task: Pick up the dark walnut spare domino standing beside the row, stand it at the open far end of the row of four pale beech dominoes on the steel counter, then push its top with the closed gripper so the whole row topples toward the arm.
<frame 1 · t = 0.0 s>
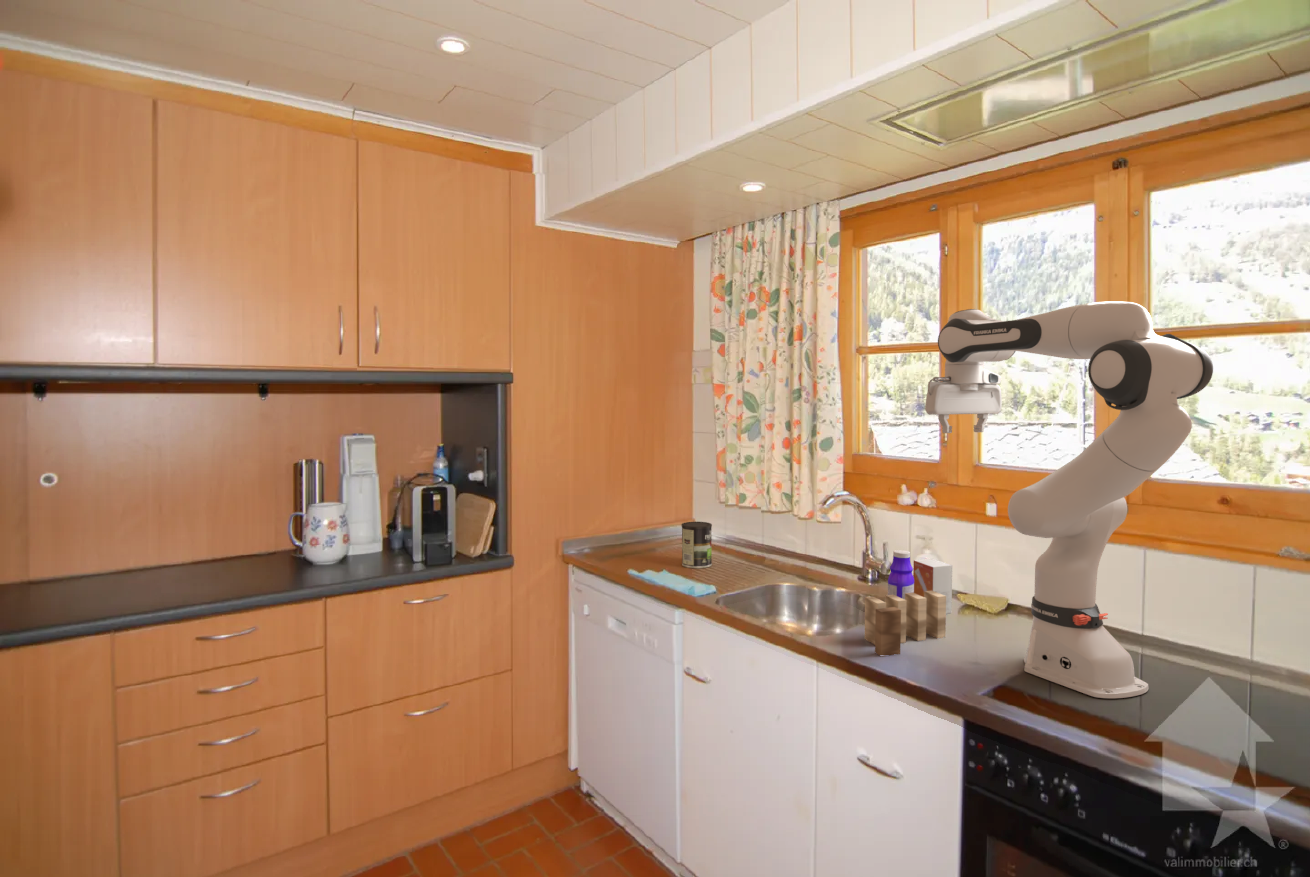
hand: (962, 432, 172), 48 cm above the counter, tool pointing down, fingers open, 8 cm apart
domino a: (934, 634, 166), on the counter
domino b: (914, 637, 165), on the counter
small box: (931, 611, 185), on the counter
coffee can: (696, 565, 237), on the counter
domino c: (895, 639, 163), on the counter
bottle: (900, 618, 179), on the counter
domino d: (874, 642, 162), on the counter
spare domino: (887, 653, 155), on the counter
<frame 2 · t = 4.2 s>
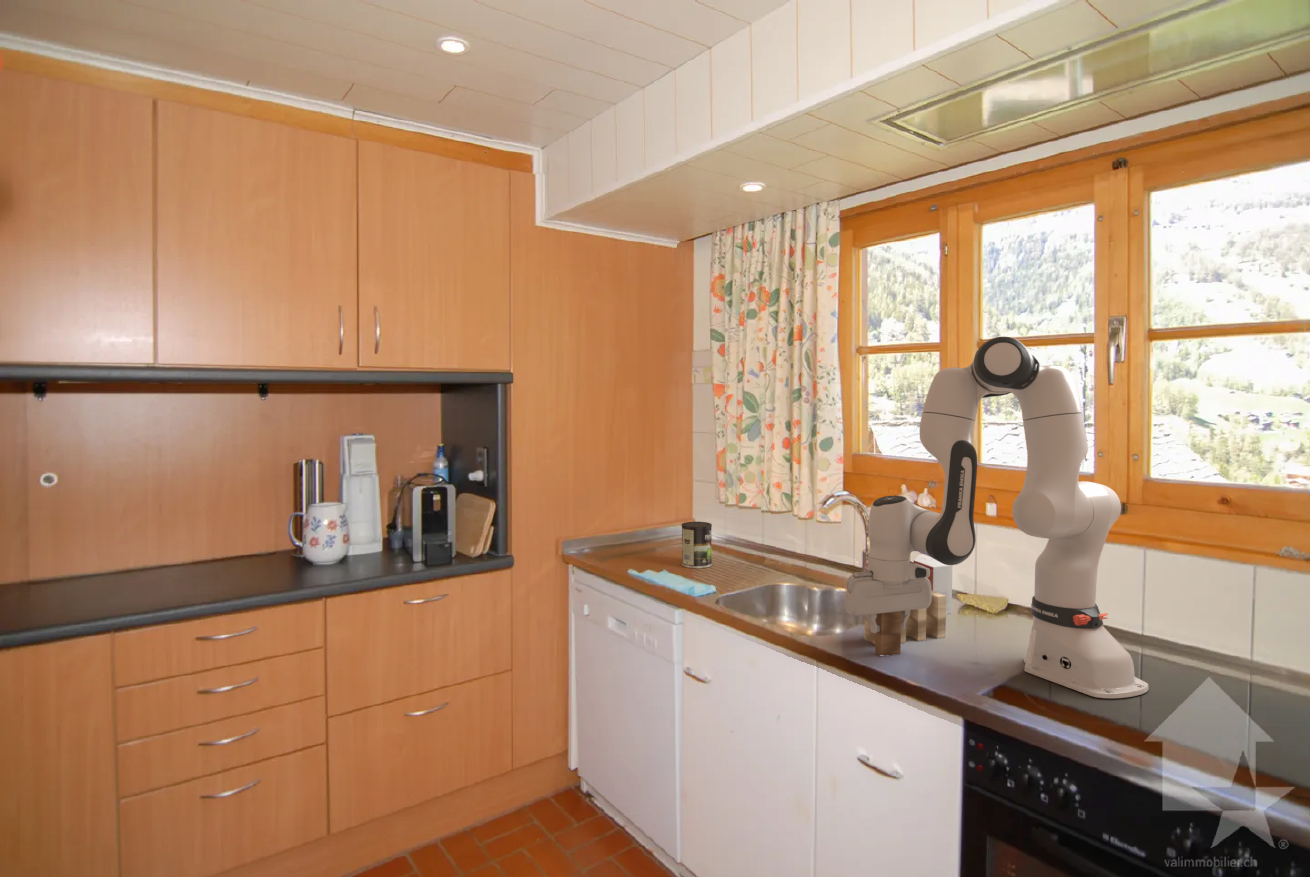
hand: (887, 630, 154), 5 cm above the counter, tool pointing down, fingers closed on spare domino, 5 cm apart
spare domino: (887, 653, 155), on the counter, touching gripper
everything else where it was.
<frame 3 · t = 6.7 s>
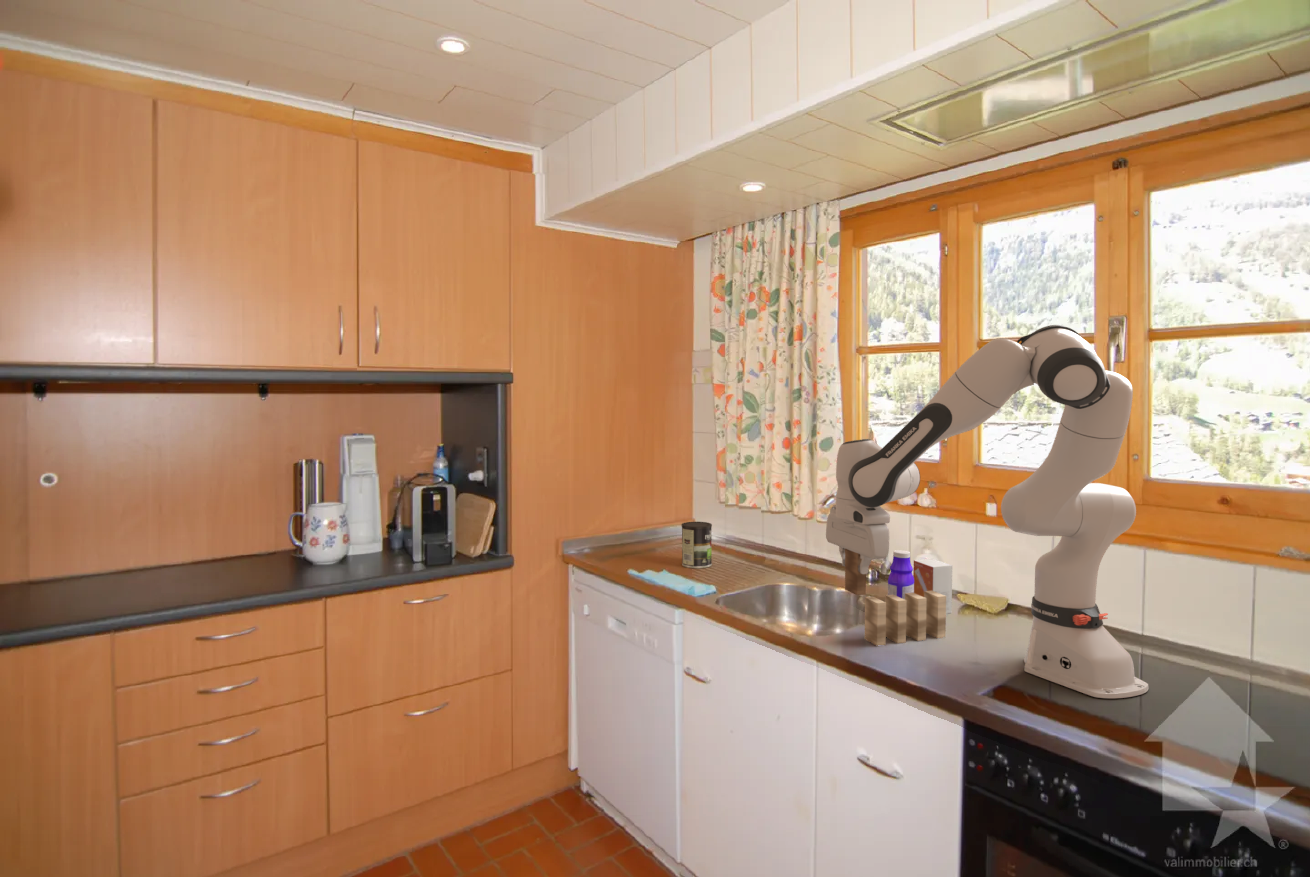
hand: (854, 569, 159), 18 cm above the counter, tool pointing down, fingers closed on spare domino, 5 cm apart
spare domino: (855, 591, 159), point 12 cm above the counter, touching gripper
everything else where it was.
when the fingers open (6 cm above the counter, at t = 9.1 s): spare domino stays where it is, on the counter.
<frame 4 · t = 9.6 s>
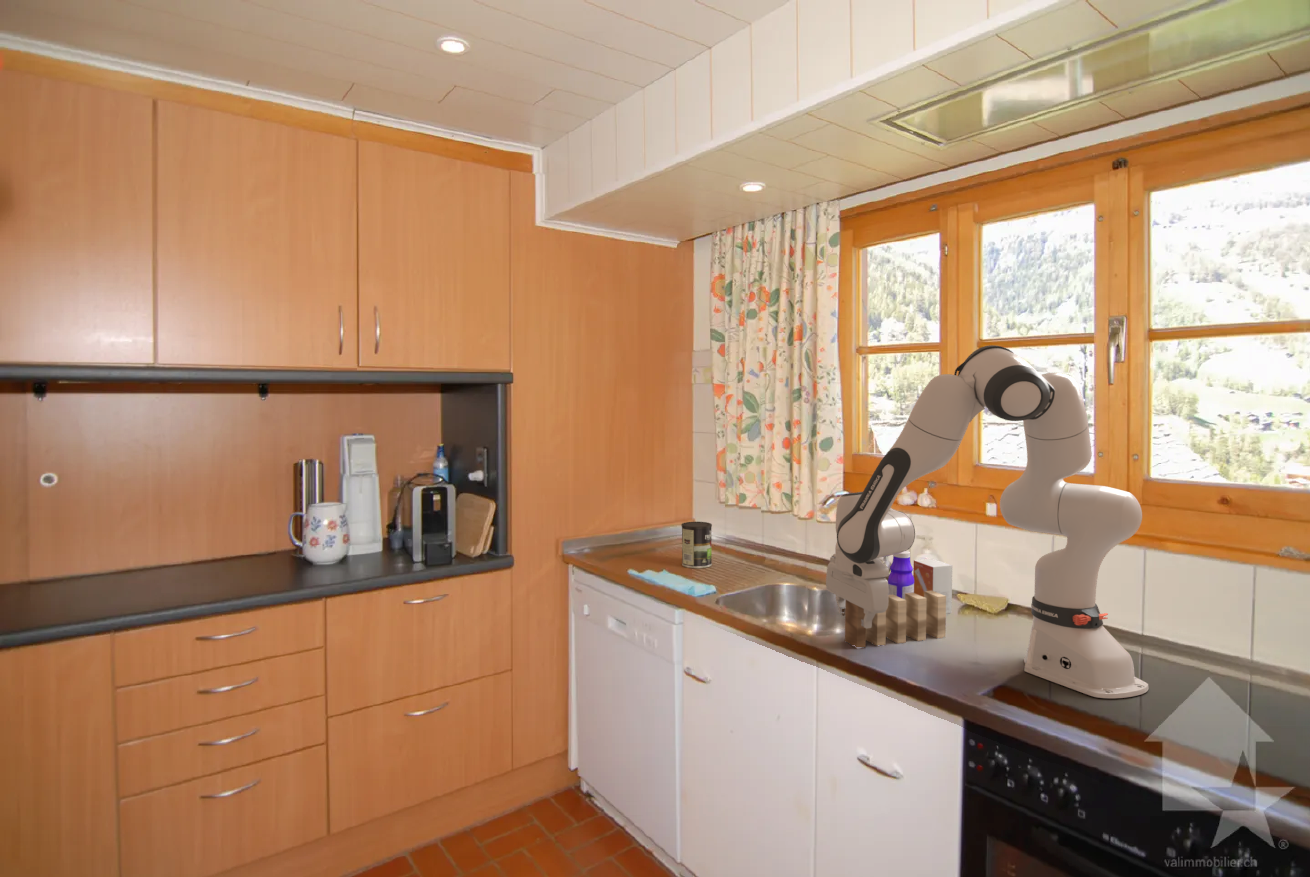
hand: (854, 620, 160), 6 cm above the counter, tool pointing down, fingers open, 8 cm apart
spare domino: (855, 644, 160), on the counter
everything else where it was.
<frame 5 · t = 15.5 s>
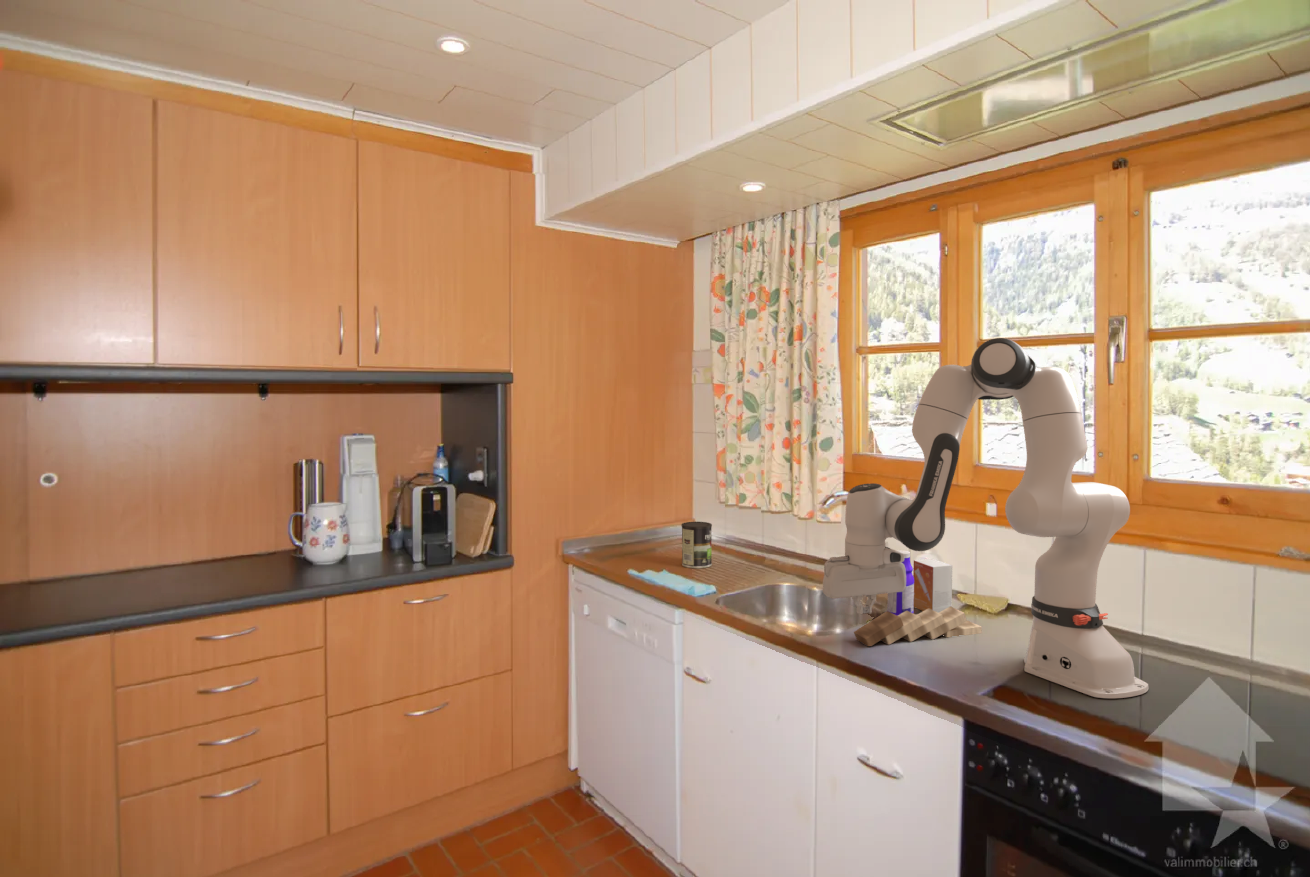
hand: (864, 613, 160), 7 cm above the counter, tool pointing down, fingers closed
domino a: (939, 632, 167), on the counter, tilted 90°
domino b: (924, 631, 165), point 1 cm above the counter, tilted 68°, touching domino c
domino c: (902, 634, 164), point 1 cm above the counter, tilted 68°, touching domino b, domino d
domino d: (880, 637, 162), point 1 cm above the counter, tilted 68°, touching domino c, spare domino
spare domino: (861, 639, 161), point 1 cm above the counter, tilted 65°, touching domino d
everything else where it was.
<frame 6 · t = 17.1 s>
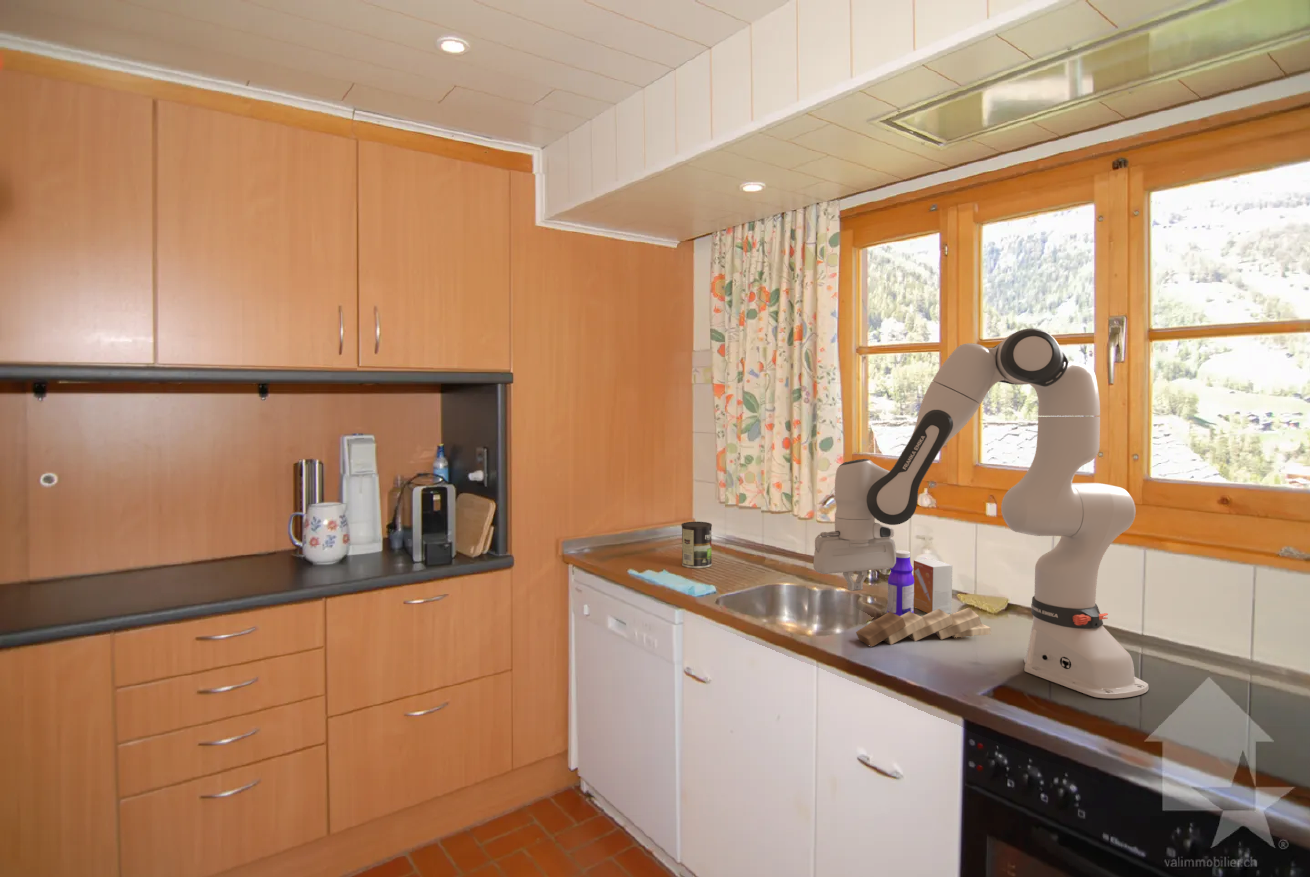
hand: (855, 590, 159), 13 cm above the counter, tool pointing down, fingers closed
domino a: (947, 632, 166), on the counter, tilted 90°
domino b: (935, 630, 165), point 1 cm above the counter, tilted 69°
domino c: (908, 633, 164), point 1 cm above the counter, tilted 68°
domino d: (883, 637, 162), point 1 cm above the counter, tilted 70°, touching spare domino
everything else where it was.
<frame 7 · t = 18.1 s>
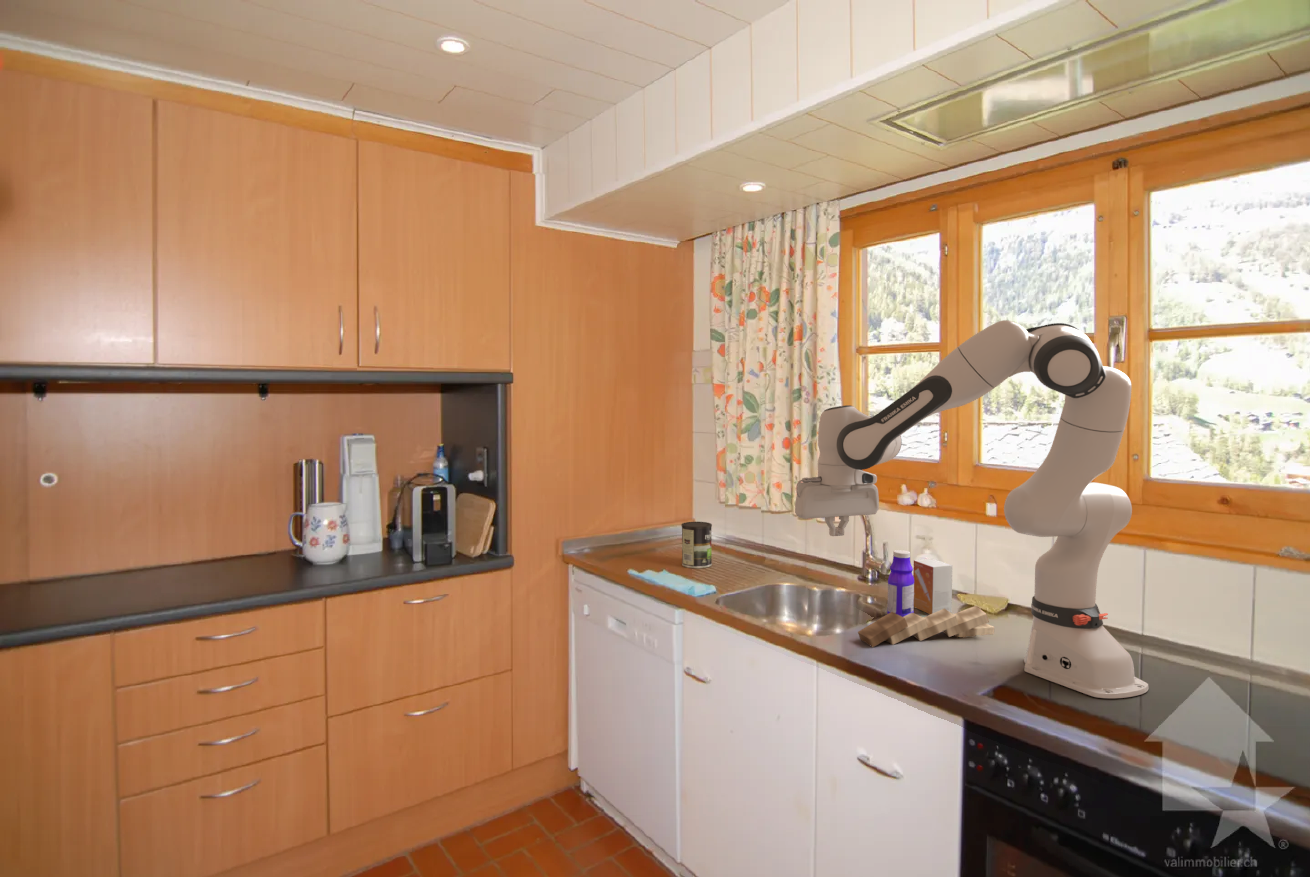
hand: (836, 535, 161), 25 cm above the counter, tool pointing down, fingers closed
domino a: (951, 632, 167), point 1 cm above the counter, tilted 90°, touching domino b
domino b: (943, 628, 165), point 2 cm above the counter, tilted 70°, touching domino a, domino c
domino c: (913, 632, 164), point 1 cm above the counter, tilted 69°, touching domino b
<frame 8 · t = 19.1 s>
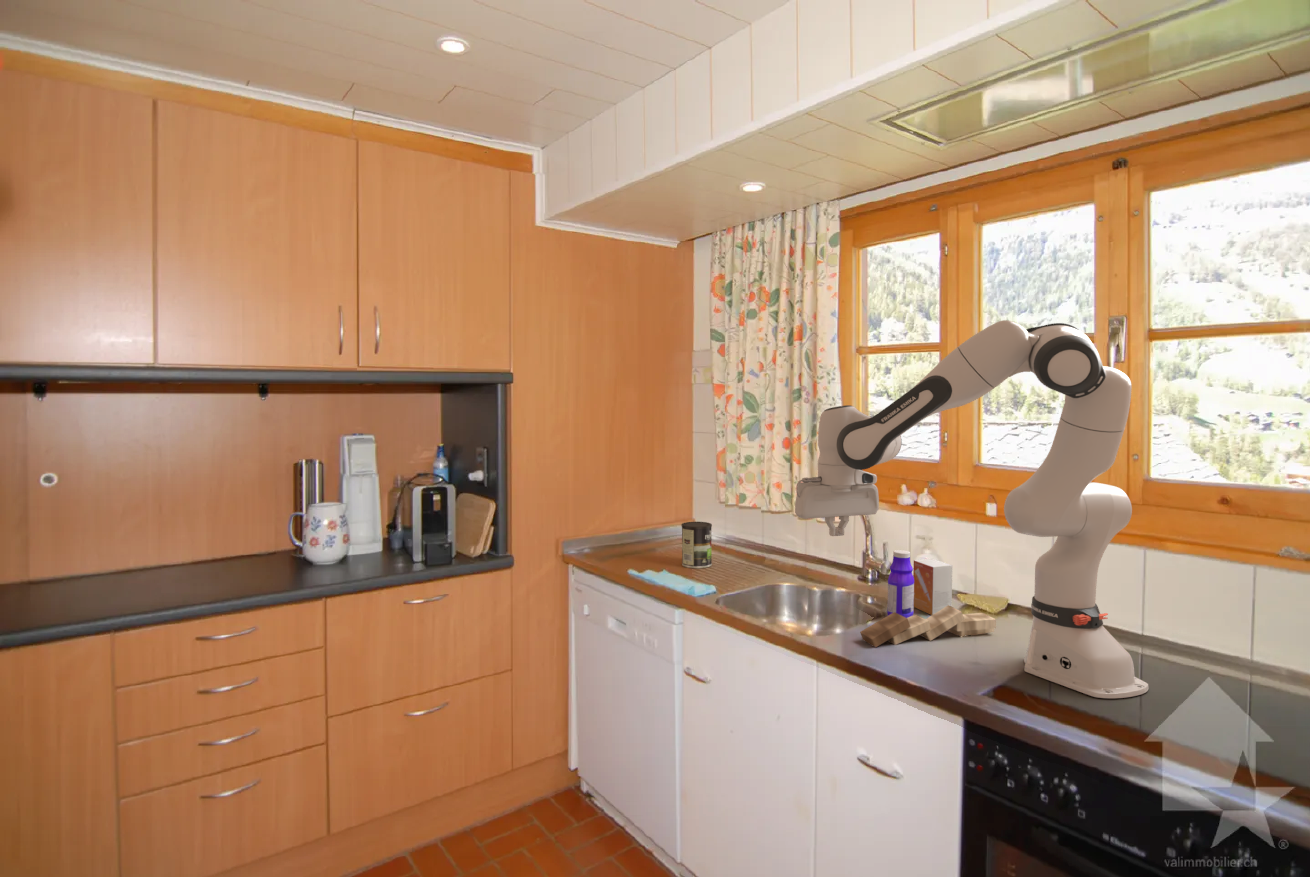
hand: (836, 535, 161), 25 cm above the counter, tool pointing down, fingers closed
domino a: (953, 631, 167), on the counter, tilted 90°
domino b: (951, 623, 166), point 3 cm above the counter, tilted 89°, touching domino c
domino c: (922, 633, 164), point 1 cm above the counter, tilted 63°, touching domino b, domino d
domino d: (887, 636, 162), point 1 cm above the counter, tilted 75°, touching domino c, spare domino
spare domino: (867, 639, 160), point 1 cm above the counter, tilted 67°, touching domino d
everything else where it was.
at the end: domino a tilted 90°; spare domino tilted 67°; the gripper is holding nothing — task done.
